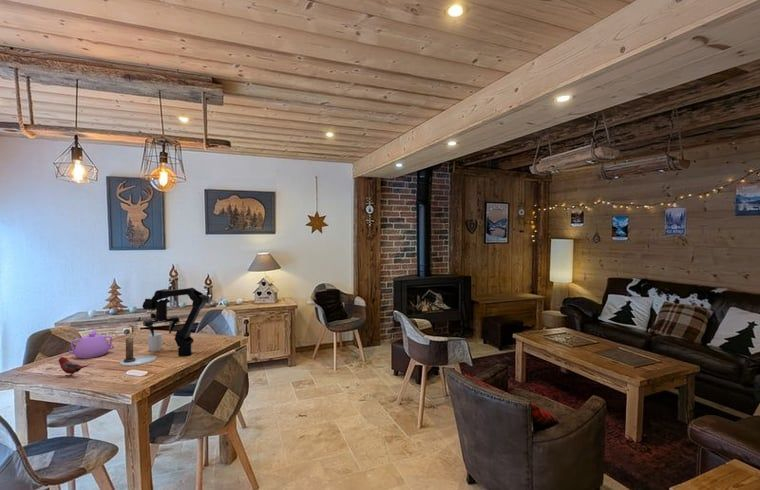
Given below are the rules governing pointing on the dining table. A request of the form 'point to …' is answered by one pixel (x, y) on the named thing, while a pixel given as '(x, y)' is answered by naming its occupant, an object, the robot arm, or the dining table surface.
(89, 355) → the teapot
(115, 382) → the dining table surface
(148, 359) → the white smooth round part
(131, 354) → the brown tapered knob
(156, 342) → the white cup
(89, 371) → the dining table surface
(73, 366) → the decorative bird figurine
